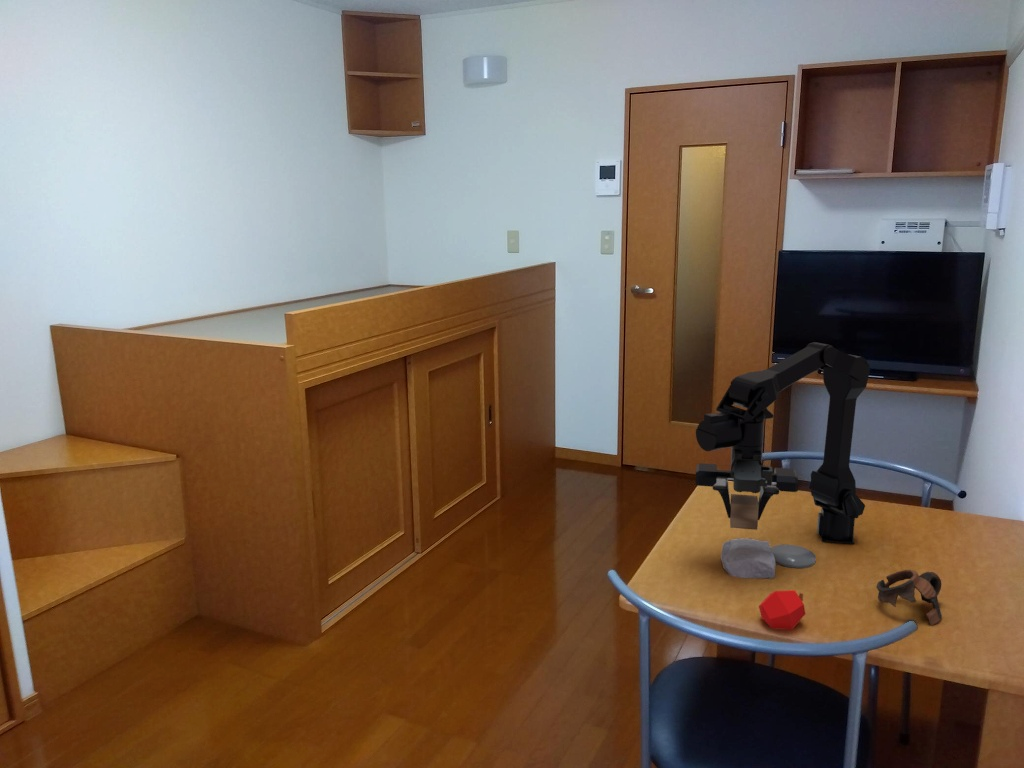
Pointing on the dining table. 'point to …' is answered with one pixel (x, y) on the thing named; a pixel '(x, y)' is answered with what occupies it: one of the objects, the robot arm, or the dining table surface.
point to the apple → (782, 609)
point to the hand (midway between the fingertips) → (743, 518)
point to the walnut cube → (744, 511)
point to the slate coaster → (793, 556)
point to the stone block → (748, 558)
